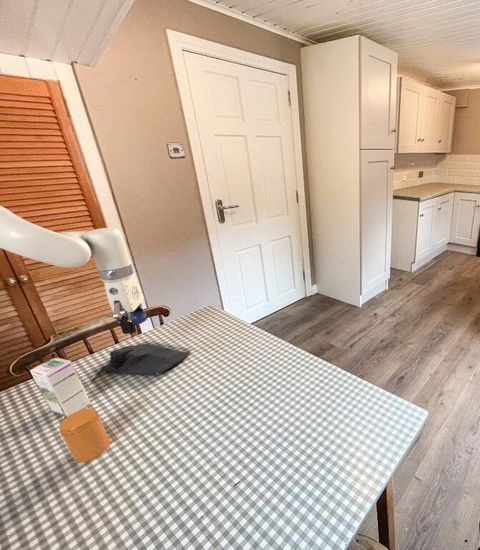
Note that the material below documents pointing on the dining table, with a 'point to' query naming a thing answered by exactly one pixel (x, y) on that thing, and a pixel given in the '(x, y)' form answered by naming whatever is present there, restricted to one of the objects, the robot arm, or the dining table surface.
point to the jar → (84, 435)
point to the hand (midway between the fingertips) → (134, 325)
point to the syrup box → (60, 386)
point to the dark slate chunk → (143, 359)
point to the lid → (137, 317)
